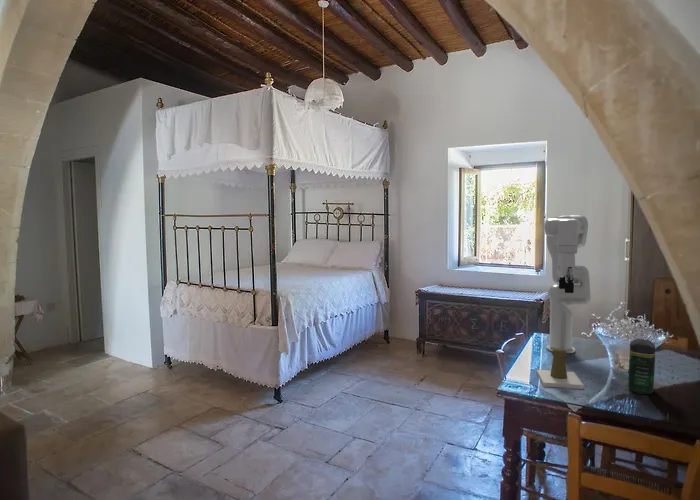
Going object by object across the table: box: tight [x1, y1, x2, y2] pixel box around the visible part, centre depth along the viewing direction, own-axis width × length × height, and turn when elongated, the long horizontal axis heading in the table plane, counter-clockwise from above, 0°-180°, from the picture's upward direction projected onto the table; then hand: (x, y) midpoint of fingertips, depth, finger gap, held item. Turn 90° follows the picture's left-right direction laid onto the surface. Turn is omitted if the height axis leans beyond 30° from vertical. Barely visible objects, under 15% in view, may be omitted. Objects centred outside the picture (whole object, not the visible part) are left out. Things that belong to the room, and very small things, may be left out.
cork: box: [550, 348, 568, 379], centre depth 173 cm, size 6×6×11 cm
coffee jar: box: [627, 338, 656, 395], centre depth 162 cm, size 10×8×19 cm
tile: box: [536, 369, 585, 390], centre depth 172 cm, size 14×14×2 cm
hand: (566, 290), depth 182 cm, fingers open, 9 cm apart
